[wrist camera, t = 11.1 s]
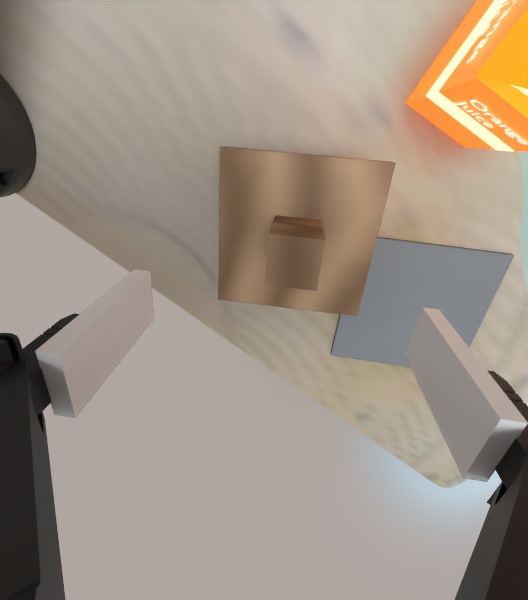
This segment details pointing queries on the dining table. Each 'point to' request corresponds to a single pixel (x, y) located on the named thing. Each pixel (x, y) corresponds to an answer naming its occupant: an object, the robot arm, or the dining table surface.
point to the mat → (418, 296)
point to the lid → (298, 228)
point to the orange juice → (481, 79)
